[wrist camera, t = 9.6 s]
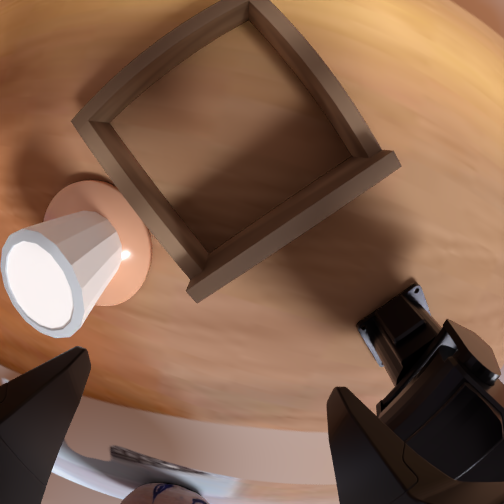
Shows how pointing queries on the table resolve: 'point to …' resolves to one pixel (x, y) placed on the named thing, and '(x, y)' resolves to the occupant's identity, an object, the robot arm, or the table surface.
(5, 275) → the white cup
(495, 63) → the table surface
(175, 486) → the ceramic pitcher
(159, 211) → the brown wooden square tray
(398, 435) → the robot arm
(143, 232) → the terracotta saucer
